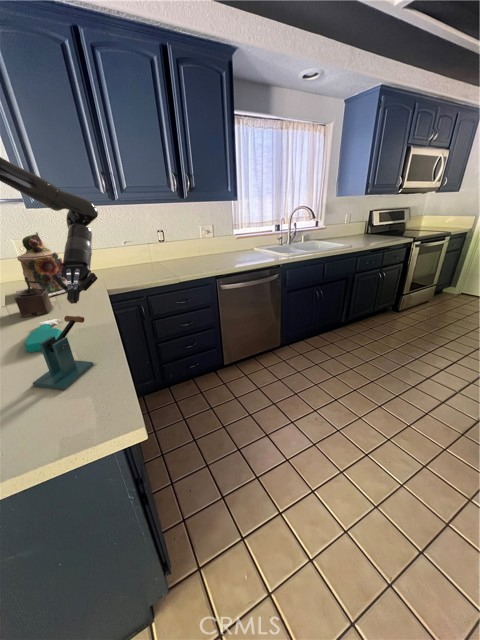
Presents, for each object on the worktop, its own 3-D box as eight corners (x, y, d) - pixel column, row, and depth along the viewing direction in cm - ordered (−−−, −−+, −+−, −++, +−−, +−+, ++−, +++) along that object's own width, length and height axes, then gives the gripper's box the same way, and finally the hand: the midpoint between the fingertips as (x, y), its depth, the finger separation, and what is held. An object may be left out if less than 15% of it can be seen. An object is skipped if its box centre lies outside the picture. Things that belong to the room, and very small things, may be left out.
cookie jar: (14, 294, 147) (-9, 234, 133) (58, 282, 167) (42, 229, 153) (41, 300, 137) (19, 236, 123) (84, 287, 157) (69, 231, 144)
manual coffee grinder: (20, 318, 117) (5, 278, 109) (27, 309, 126) (13, 272, 119) (61, 312, 123) (49, 274, 115) (64, 304, 132) (53, 268, 124)
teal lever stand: (65, 362, 85) (54, 329, 80) (93, 365, 83) (84, 331, 78) (33, 386, 74) (18, 350, 69) (65, 389, 73) (51, 353, 68)
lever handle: (70, 319, 83) (65, 313, 81) (86, 320, 82) (81, 315, 80) (46, 351, 75) (41, 347, 73) (63, 353, 74) (58, 348, 72)
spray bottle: (24, 354, 89) (34, 327, 109) (61, 346, 94) (65, 321, 114) (21, 346, 88) (32, 320, 108) (59, 338, 93) (63, 315, 113)
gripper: (49, 248, 82) (41, 298, 76) (94, 246, 84) (90, 295, 78) (62, 261, 89) (56, 308, 83) (103, 260, 91) (100, 306, 85)
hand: (72, 302), depth 80 cm, fingers closed
